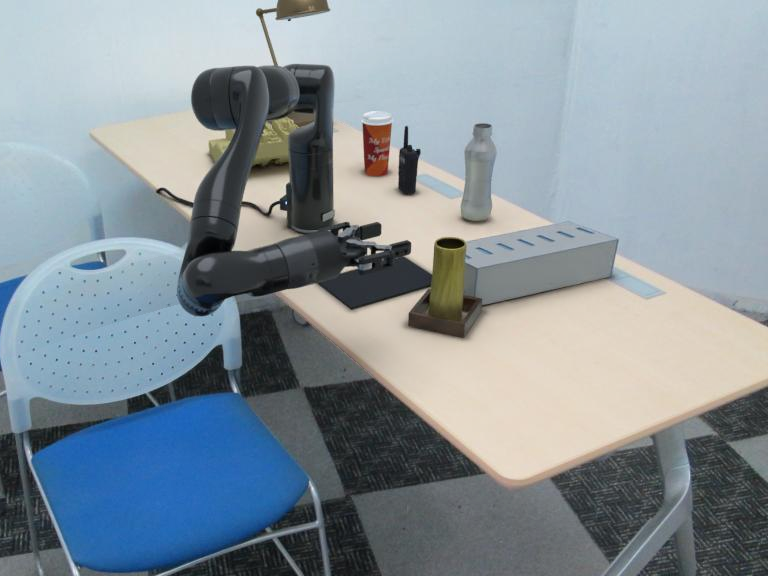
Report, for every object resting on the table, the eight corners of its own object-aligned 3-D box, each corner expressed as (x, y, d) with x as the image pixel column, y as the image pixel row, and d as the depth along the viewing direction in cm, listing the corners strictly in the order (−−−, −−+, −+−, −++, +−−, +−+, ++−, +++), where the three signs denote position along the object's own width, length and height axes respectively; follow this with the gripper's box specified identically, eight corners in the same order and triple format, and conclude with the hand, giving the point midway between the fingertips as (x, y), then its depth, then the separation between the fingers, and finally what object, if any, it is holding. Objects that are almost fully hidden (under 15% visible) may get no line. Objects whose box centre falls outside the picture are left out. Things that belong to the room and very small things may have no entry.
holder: (407, 326, 148) (408, 312, 146) (427, 301, 155) (428, 288, 154) (463, 337, 144) (464, 324, 143) (481, 311, 151) (482, 298, 150)
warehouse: (564, 247, 172) (570, 212, 168) (611, 276, 161) (618, 239, 156) (433, 275, 163) (435, 237, 159) (473, 307, 152) (477, 268, 148)
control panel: (198, 101, 218) (272, 84, 222) (207, 157, 229) (278, 140, 233) (223, 142, 202) (303, 124, 205) (231, 200, 213) (307, 182, 216)
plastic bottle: (490, 225, 182) (500, 131, 171) (458, 223, 184) (465, 130, 172) (491, 213, 188) (500, 121, 176) (460, 212, 189) (467, 120, 177)
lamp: (294, 136, 237) (289, -11, 216) (241, 108, 261) (232, -26, 240) (341, 127, 242) (340, -17, 221) (284, 100, 267) (279, -32, 246)
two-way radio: (395, 188, 202) (397, 124, 193) (412, 186, 203) (415, 122, 194) (405, 196, 197) (407, 131, 189) (422, 193, 199) (426, 128, 190)
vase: (424, 311, 152) (428, 236, 144) (458, 309, 152) (464, 234, 144) (431, 328, 147) (436, 251, 139) (466, 326, 147) (473, 249, 139)
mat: (351, 309, 153) (351, 307, 153) (315, 281, 163) (315, 280, 163) (442, 283, 161) (442, 281, 161) (403, 257, 170) (403, 256, 170)
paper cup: (370, 180, 207) (371, 121, 199) (354, 170, 213) (355, 113, 205) (398, 173, 210) (400, 116, 202) (381, 165, 216) (382, 108, 208)
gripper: (327, 254, 122) (421, 230, 128) (282, 221, 132) (371, 200, 138) (328, 301, 126) (419, 275, 132) (284, 266, 137) (370, 243, 143)
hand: (394, 237), depth 135 cm, fingers open, 8 cm apart
